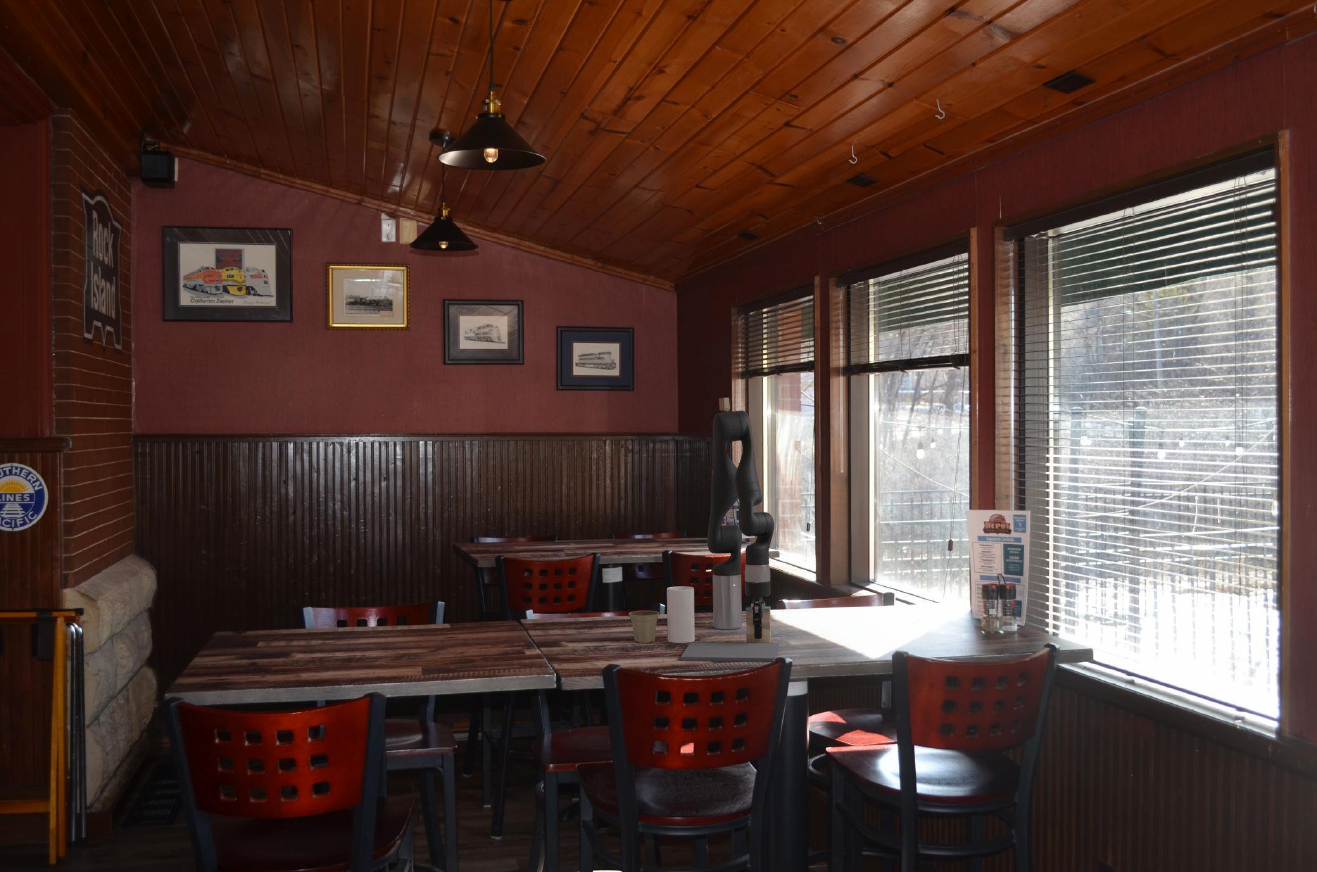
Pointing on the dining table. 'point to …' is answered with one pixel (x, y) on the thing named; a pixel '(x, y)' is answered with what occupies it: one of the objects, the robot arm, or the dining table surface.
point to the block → (765, 626)
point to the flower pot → (644, 625)
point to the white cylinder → (680, 614)
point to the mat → (730, 652)
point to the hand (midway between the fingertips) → (758, 636)
